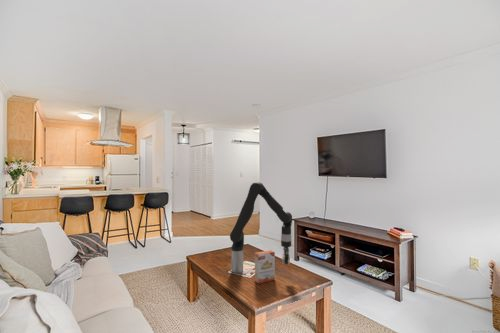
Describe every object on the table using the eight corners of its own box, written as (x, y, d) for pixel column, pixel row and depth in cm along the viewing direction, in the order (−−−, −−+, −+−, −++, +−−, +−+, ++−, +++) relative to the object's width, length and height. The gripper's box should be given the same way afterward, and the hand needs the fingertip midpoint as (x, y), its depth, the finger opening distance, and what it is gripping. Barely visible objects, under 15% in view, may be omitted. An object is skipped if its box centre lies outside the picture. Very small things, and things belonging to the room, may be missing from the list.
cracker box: (258, 284, 186) (258, 254, 186) (254, 281, 192) (254, 252, 192) (275, 280, 193) (274, 251, 193) (271, 277, 198) (270, 249, 198)
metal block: (282, 264, 192) (282, 256, 192) (282, 261, 197) (282, 254, 197) (289, 264, 192) (289, 256, 192) (289, 262, 197) (289, 254, 197)
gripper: (280, 236, 202) (280, 258, 202) (281, 242, 187) (281, 266, 187) (290, 237, 201) (290, 259, 201) (292, 242, 187) (292, 266, 187)
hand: (286, 262), depth 194 cm, fingers closed on metal block, 5 cm apart
